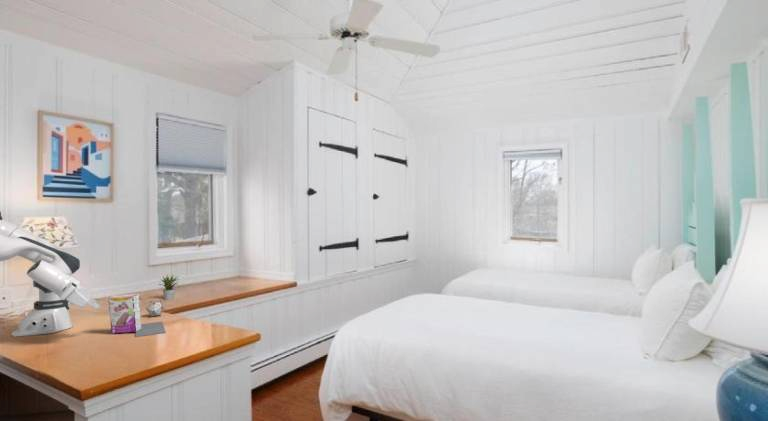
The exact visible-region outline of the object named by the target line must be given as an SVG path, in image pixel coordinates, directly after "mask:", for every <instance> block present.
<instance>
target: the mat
mask: <svg viewBox="0 0 768 421" xmlns="http://www.w3.org/2000/svg"><path fill="white" fill-rule="evenodd" d="M161 334H166V329H165V326H164V322H163V321H156V322H155V321H154V322H147V323H141V330H139V331H137V332H135V338H139V337H146V336H153V335H154V336H155V335H161Z"/></svg>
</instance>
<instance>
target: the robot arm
mask: <svg viewBox="0 0 768 421" xmlns="http://www.w3.org/2000/svg"><path fill="white" fill-rule="evenodd" d="M17 256H19V257H20V258H23V259H25V260H28V261H30V262H32V263H34V264H33V265H32V266H31V267H30V268H28V270H27V271H26V275H27V276H28V278H30V279H31V280H33V281H32V283H33V284H32V286H33V288H36V289H38V300H35V301H34V303H33V310H32V311H30V312H29V313H27V315H25V316H24V317H22V319H20V320H19V323H18V325H17V326H18V327H17V329H16V330H14V331H12V333H11V337H13V338H15V337H27V336H37V335H45V334H53V333H58V332H60V331H64V330H68V329H70V328H73V327H74V325H73V322H72V319H71V315H70V307H71V306H70V304H72V305H75V306H77V307H79V308H82V309H84V308H85V307H86V305H87V306H91V307H92V308H95V309H98V308H99V307H100V306H101V304H100V302H98V301H97V300H96V299H94V298H93V296H94V295H95V293H94V292H93V291H92V290H90V289H88V288H87V287H85V286H83V285H81V283H82V282H81V281H80V280H78V279H76V278H75V277H73V276H72V275H74V274H75V273H76V272H77V271H78V270H79V269H80V268H81V267H80V266H81V264H80V263H81V262H80V259H79V258H78V256H75V255H74V254H72V253H68V252H66V251H65V250H64V249H63V248H61V247H60V246H57V245H56V244H53V243H51V242H50V241H48V240H46V239H43V238H42V237H39V236H38V235H35V234H34V233H33V232H30V231H28V230H26V229H24V228H23V227H21V226H20V225H17V224H15V223H13V222H12V221H11V222H10V221H9V220H6V219H3V216H2V212H1V211H0V262H4V261H8V260H11V259H12V258H15V257H17Z"/></svg>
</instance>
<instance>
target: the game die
mask: <svg viewBox="0 0 768 421" xmlns="http://www.w3.org/2000/svg"><path fill="white" fill-rule="evenodd" d="M145 310H146V311H147V312H148V314H149V317H148V318H151V317H154V316H159V317H162V316H161V314H162V312H163V311H164V310H166V308H164V306H163V305H162V300H160V301H154V302H153V301H151V300H150V301H149V305H148V306H147V308H145Z"/></svg>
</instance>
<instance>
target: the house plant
mask: <svg viewBox="0 0 768 421" xmlns="http://www.w3.org/2000/svg"><path fill="white" fill-rule="evenodd" d="M179 277H180V276H174V275H173V274H171V275H170V278H169V275H168V274H166V276H165V277H164V276H162V279H161V278H159V280H160V281H161V282H162V283H163V284H161V283H159V284H158V286H163V287H164V289H162V293H163V297H164V300H165V301H169V300H170V301H172V300H174V298H175V295H176V294H175V293H176V288H174V287H175V285H178V280H180V279H179ZM176 281H177V282H176Z"/></svg>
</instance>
